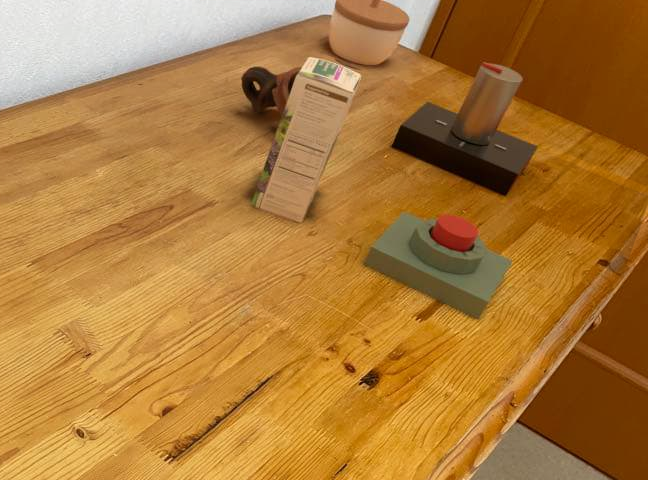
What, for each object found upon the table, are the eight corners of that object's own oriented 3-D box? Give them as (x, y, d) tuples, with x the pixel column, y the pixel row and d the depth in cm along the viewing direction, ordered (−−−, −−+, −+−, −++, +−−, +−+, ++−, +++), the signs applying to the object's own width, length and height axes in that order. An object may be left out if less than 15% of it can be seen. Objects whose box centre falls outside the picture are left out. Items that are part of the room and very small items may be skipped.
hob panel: (526, 167, 109) (538, 145, 107) (505, 196, 102) (518, 172, 100) (417, 122, 114) (427, 100, 112) (390, 147, 106) (401, 123, 104)
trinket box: (387, 58, 130) (413, -5, 124) (389, 84, 122) (416, 17, 116) (319, 40, 131) (341, -24, 124) (316, 64, 123) (340, -3, 116)
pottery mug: (318, 120, 110) (353, 81, 102) (297, 176, 106) (331, 140, 99) (237, 74, 108) (267, 31, 100) (213, 130, 104) (242, 89, 97)
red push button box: (502, 278, 87) (522, 245, 85) (477, 320, 81) (497, 286, 78) (395, 228, 91) (410, 195, 88) (362, 265, 84) (378, 230, 82)
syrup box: (261, 185, 93) (305, 53, 83) (313, 202, 92) (363, 71, 82) (249, 207, 89) (294, 71, 79) (303, 226, 88) (355, 90, 78)
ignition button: (474, 242, 84) (483, 227, 83) (463, 257, 81) (472, 242, 80) (436, 225, 85) (444, 210, 84) (425, 240, 83) (432, 224, 81)
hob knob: (494, 137, 107) (528, 72, 101) (484, 149, 103) (518, 82, 98) (457, 121, 108) (488, 57, 102) (445, 133, 105) (477, 66, 99)
